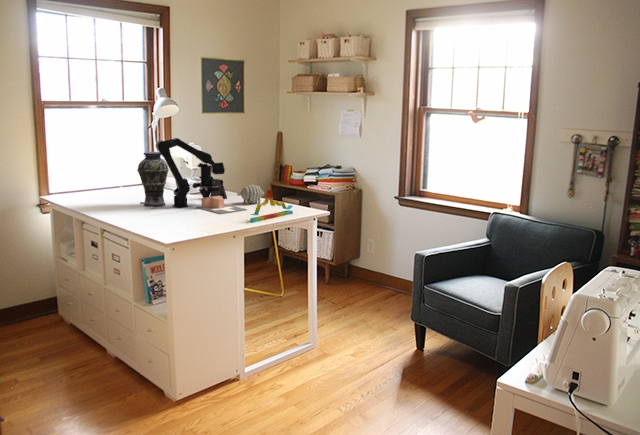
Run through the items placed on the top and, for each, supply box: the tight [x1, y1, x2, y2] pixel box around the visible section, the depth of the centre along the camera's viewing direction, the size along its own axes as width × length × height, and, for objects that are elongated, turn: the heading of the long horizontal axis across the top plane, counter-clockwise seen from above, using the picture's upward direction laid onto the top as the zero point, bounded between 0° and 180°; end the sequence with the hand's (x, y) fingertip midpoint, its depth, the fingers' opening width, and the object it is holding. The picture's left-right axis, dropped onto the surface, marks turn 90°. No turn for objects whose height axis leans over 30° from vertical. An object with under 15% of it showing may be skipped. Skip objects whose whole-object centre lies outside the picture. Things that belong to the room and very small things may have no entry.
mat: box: [196, 203, 248, 215], centre depth 336 cm, size 18×23×1 cm
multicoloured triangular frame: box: [249, 189, 294, 223], centre depth 316 cm, size 30×3×15 cm, turn 143°
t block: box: [201, 196, 225, 208], centre depth 339 cm, size 12×10×5 cm
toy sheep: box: [236, 184, 265, 205], centre depth 354 cm, size 11×17×11 cm, turn 123°
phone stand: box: [209, 178, 228, 200], centre depth 366 cm, size 9×6×12 cm, turn 137°
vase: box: [137, 151, 170, 208], centre depth 339 cm, size 17×17×30 cm
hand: (206, 201), depth 345 cm, fingers closed
